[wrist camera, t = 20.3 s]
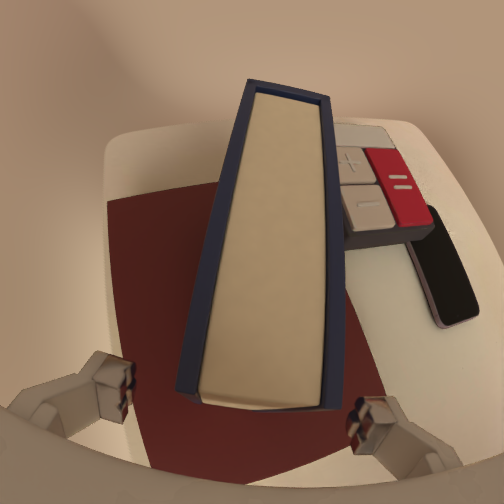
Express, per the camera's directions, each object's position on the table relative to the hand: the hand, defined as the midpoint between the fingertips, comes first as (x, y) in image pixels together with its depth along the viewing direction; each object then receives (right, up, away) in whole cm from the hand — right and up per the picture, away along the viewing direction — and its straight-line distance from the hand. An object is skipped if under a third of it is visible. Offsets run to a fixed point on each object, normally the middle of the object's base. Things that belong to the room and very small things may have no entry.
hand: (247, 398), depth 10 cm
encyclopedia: (-1, -1, +14) cm, 14 cm away
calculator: (+12, +12, +23) cm, 29 cm away
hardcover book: (-1, +1, +10) cm, 10 cm away
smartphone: (+21, +4, +20) cm, 29 cm away
